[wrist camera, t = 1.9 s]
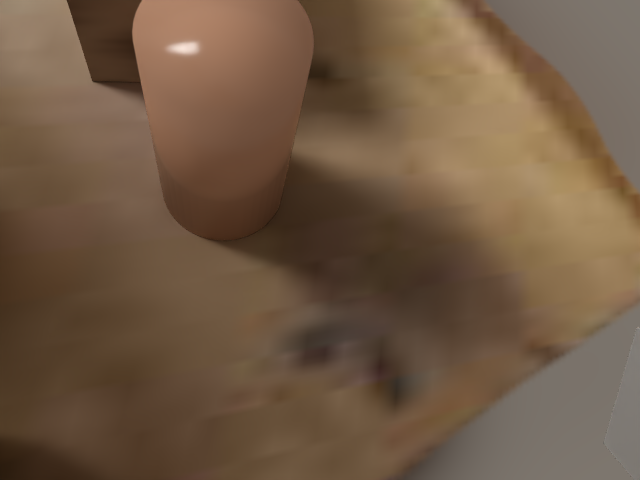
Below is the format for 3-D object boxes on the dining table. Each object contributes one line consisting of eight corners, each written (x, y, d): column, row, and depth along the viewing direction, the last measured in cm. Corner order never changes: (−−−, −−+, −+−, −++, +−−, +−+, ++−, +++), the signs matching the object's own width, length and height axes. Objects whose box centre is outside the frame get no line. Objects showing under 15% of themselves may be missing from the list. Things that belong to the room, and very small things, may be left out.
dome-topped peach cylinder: (161, 242, 31) (129, 109, 20) (162, 133, 33) (134, -40, 22) (286, 239, 32) (321, 111, 21) (278, 133, 34) (307, -31, 23)
